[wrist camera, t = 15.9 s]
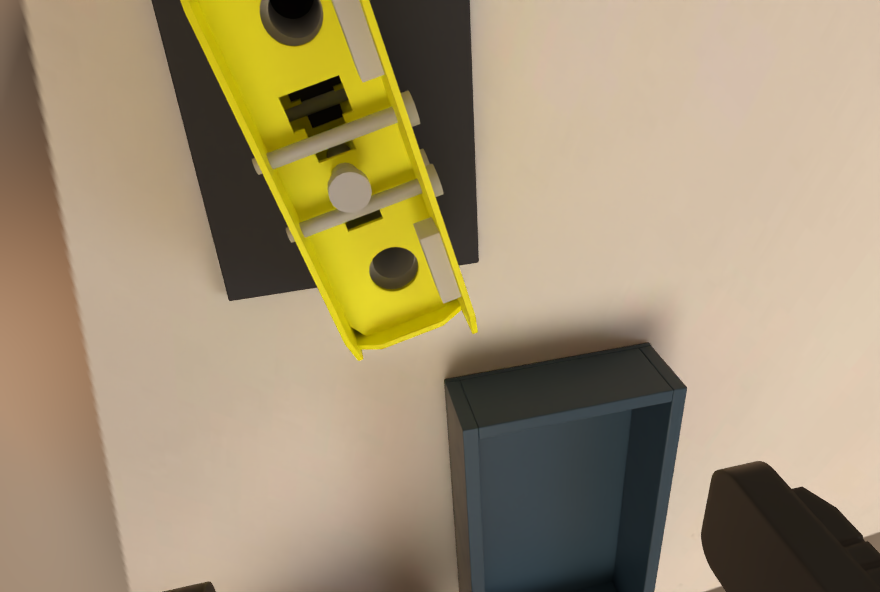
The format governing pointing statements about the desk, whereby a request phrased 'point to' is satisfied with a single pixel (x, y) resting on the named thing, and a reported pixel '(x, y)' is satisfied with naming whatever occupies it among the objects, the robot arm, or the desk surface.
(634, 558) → the bin
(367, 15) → the yellow toy chassis
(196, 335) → the desk surface
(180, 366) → the desk surface
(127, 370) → the desk surface
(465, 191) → the mat
